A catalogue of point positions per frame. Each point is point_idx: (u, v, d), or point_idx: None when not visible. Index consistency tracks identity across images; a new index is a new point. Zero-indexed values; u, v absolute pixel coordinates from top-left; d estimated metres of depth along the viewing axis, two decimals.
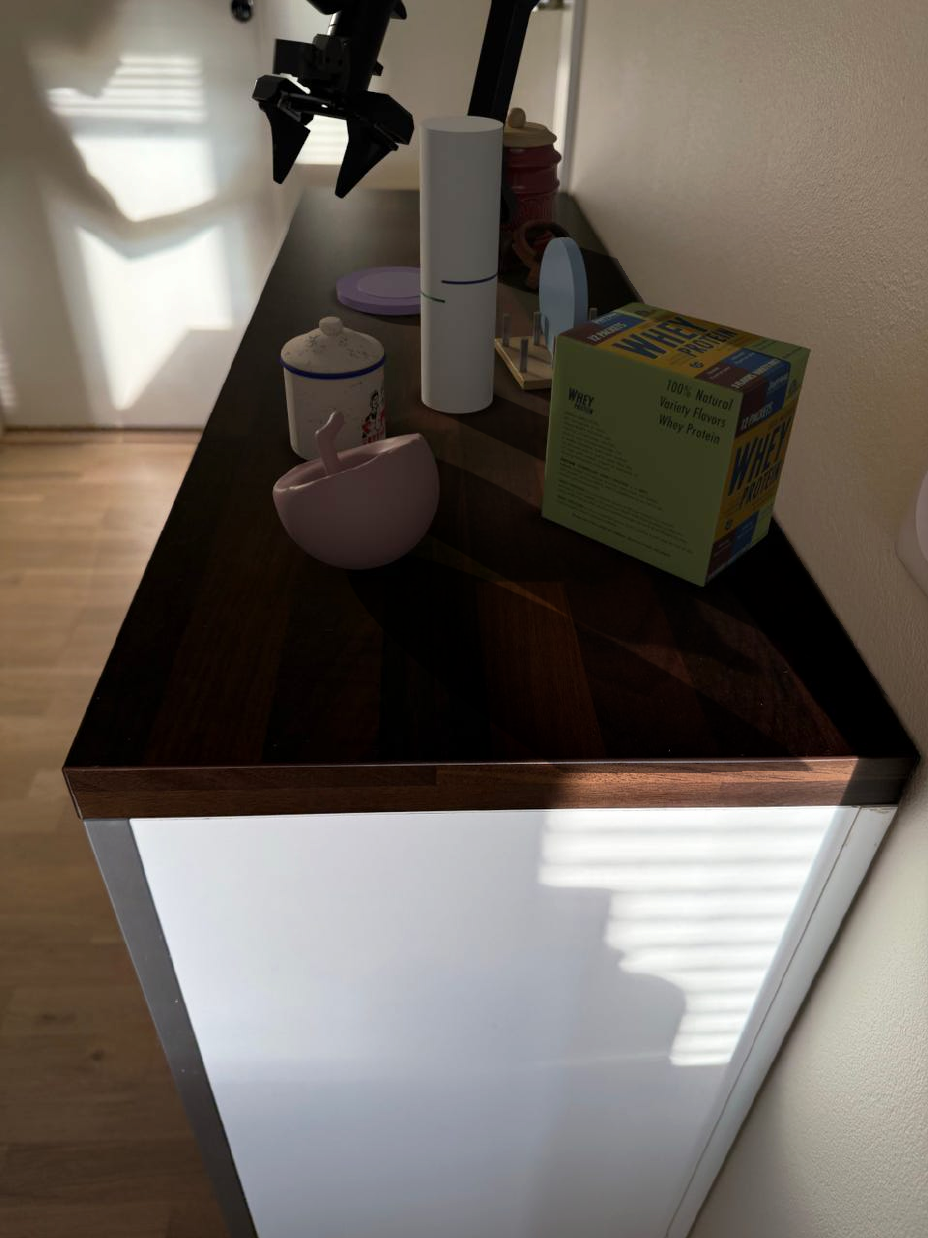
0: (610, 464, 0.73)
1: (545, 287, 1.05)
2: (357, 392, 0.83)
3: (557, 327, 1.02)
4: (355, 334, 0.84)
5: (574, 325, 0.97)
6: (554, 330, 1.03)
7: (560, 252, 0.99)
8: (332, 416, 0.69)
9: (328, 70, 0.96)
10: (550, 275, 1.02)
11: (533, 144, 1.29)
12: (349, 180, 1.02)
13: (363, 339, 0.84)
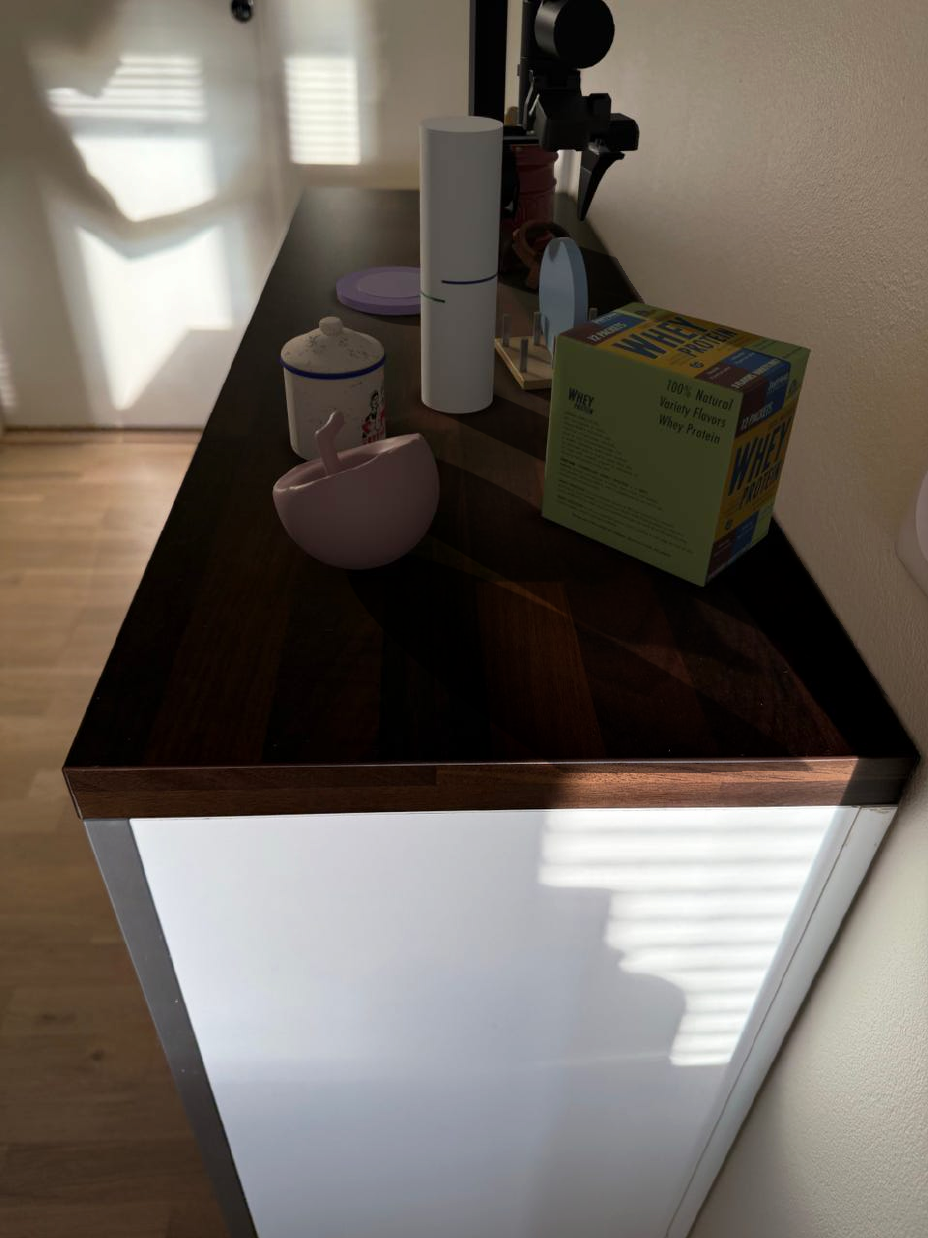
0: (610, 464, 0.73)
1: (545, 287, 1.05)
2: (357, 392, 0.83)
3: (557, 327, 1.02)
4: (355, 334, 0.84)
5: (574, 325, 0.97)
6: (554, 330, 1.03)
7: (560, 252, 0.99)
8: (332, 416, 0.69)
9: None
10: (550, 275, 1.02)
11: None
12: None
13: (363, 339, 0.84)
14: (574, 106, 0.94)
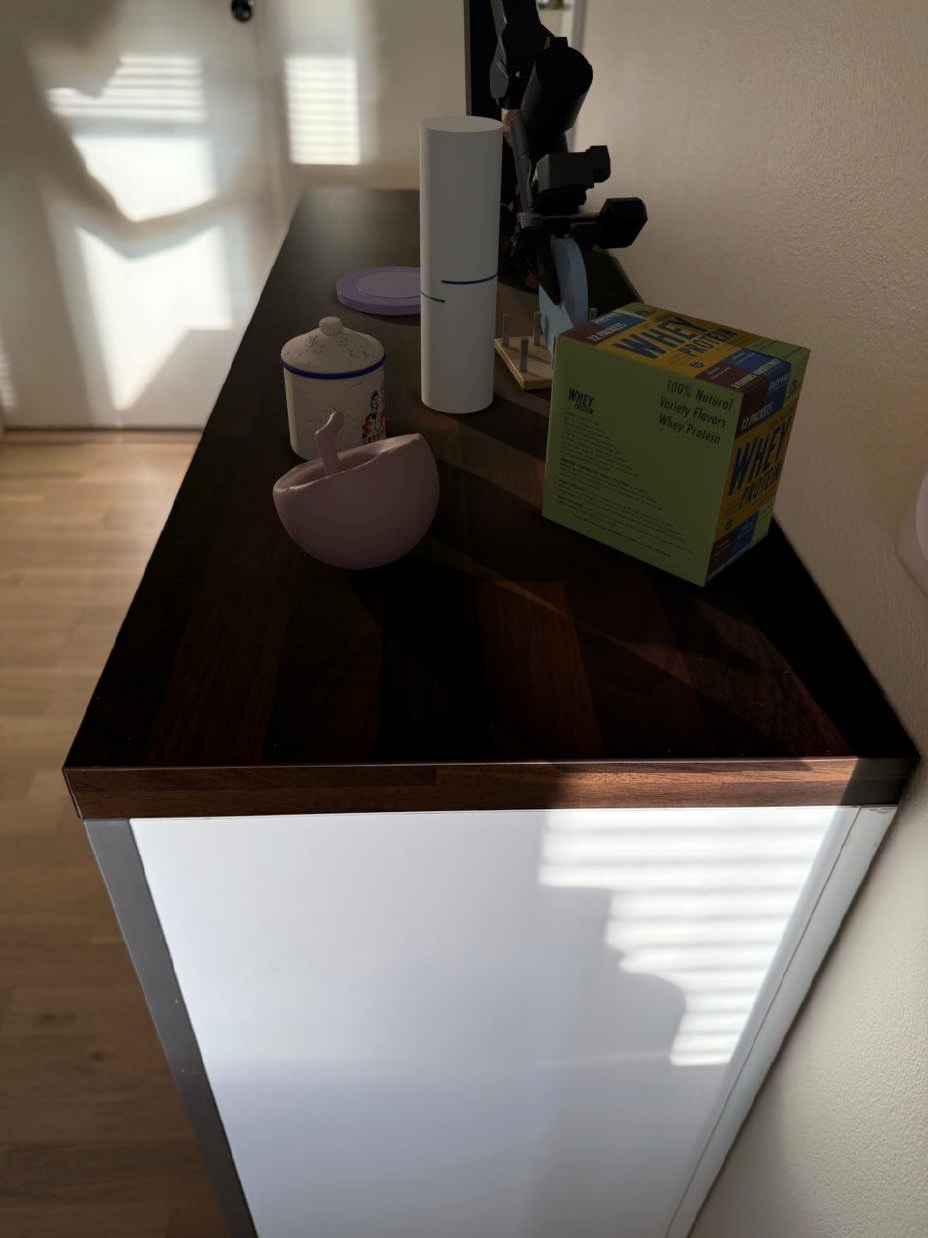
0: (610, 464, 0.73)
1: None
2: (357, 392, 0.83)
3: (557, 327, 1.02)
4: (355, 334, 0.84)
5: (574, 325, 0.97)
6: (554, 330, 1.03)
7: (560, 252, 0.99)
8: (332, 416, 0.69)
9: (608, 177, 0.97)
10: None
11: None
12: None
13: (363, 339, 0.84)
14: None
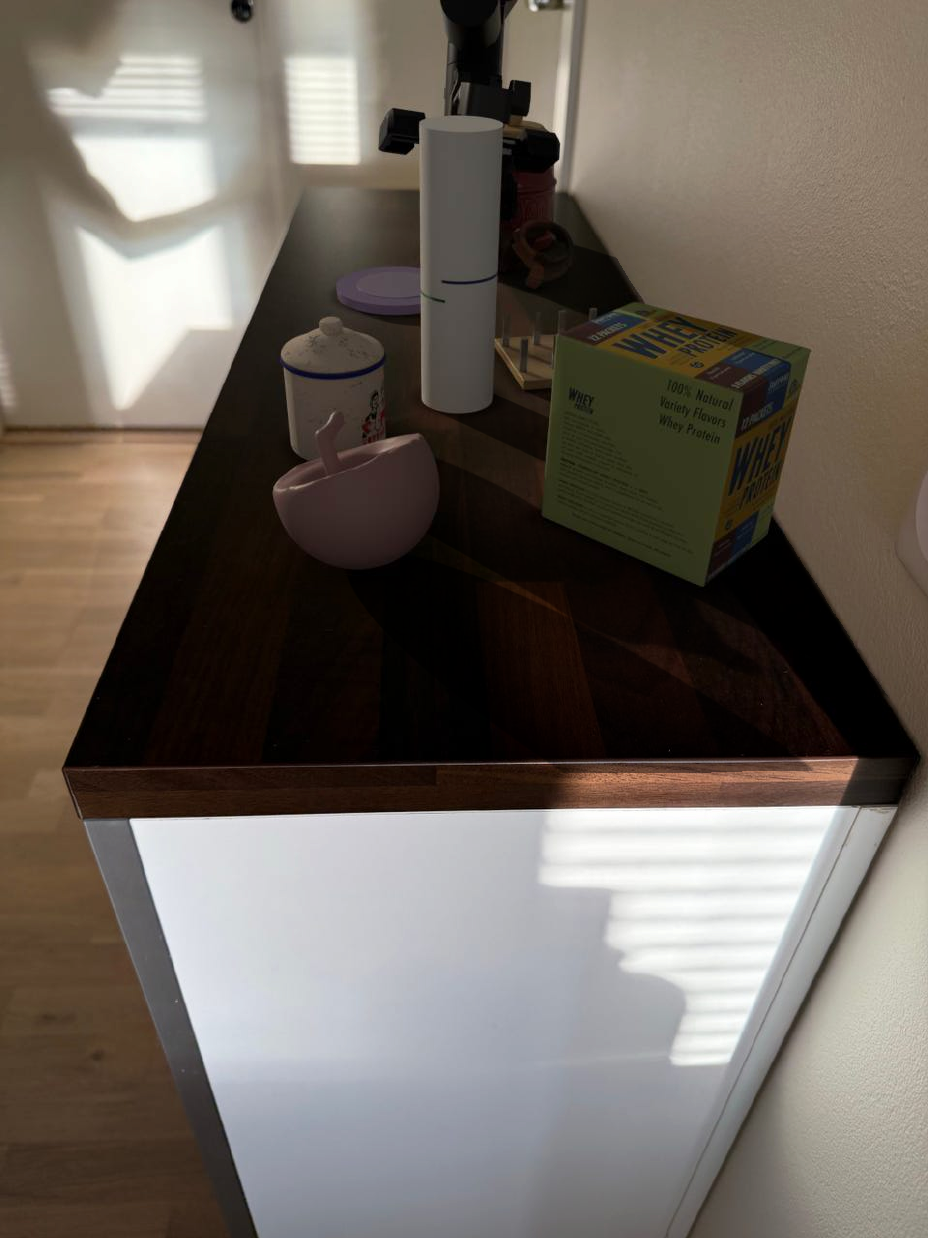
0: (610, 464, 0.73)
1: None
2: (357, 392, 0.83)
3: None
4: (355, 334, 0.84)
5: None
6: None
7: None
8: (332, 416, 0.69)
9: (526, 115, 0.99)
10: None
11: None
12: None
13: (363, 339, 0.84)
14: None
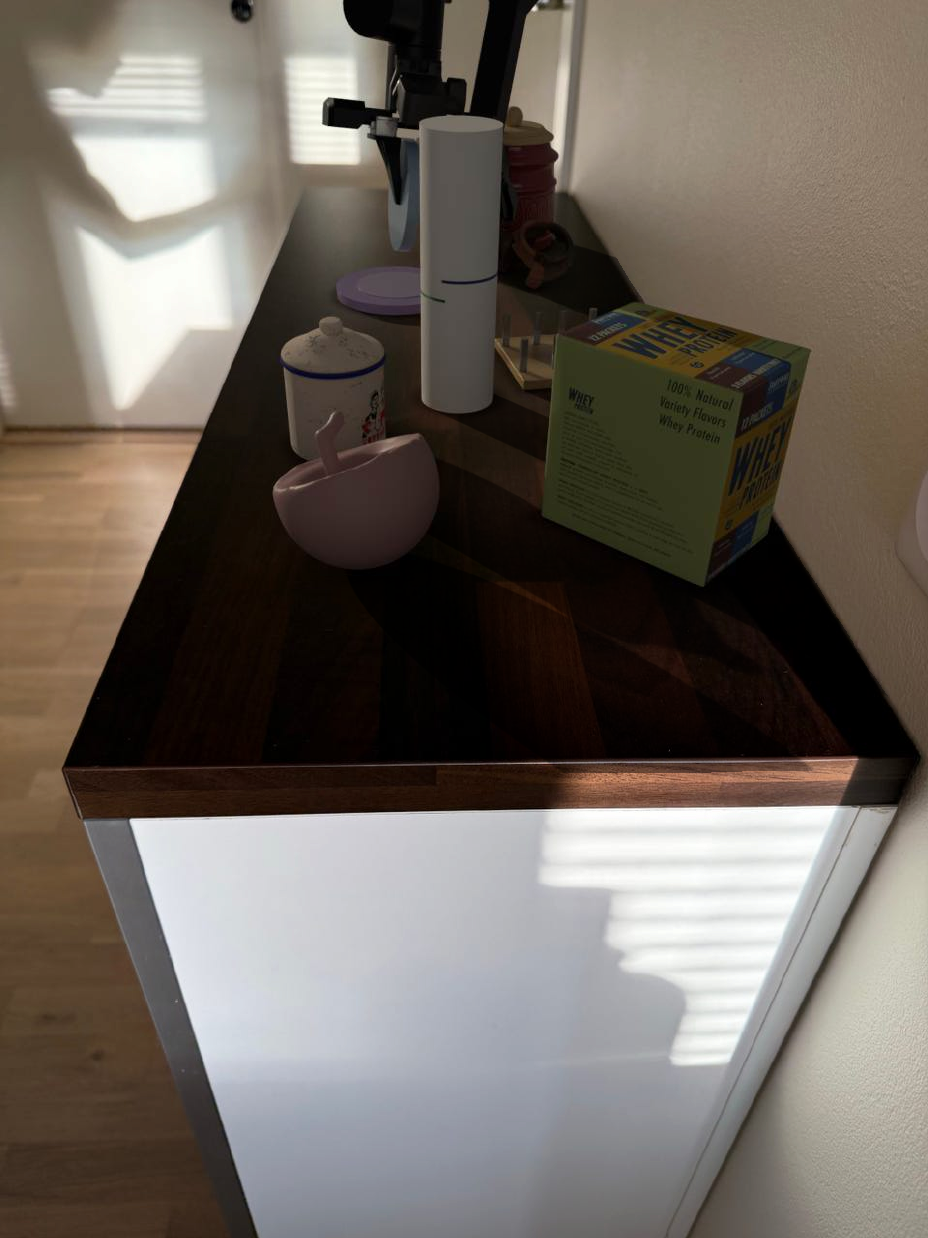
0: (610, 464, 0.73)
1: None
2: (357, 392, 0.83)
3: (394, 218, 1.14)
4: (355, 334, 0.84)
5: (402, 242, 1.11)
6: (393, 216, 1.15)
7: (405, 165, 1.07)
8: (332, 416, 0.69)
9: None
10: None
11: (528, 143, 1.29)
12: None
13: (363, 339, 0.84)
14: (432, 87, 1.01)
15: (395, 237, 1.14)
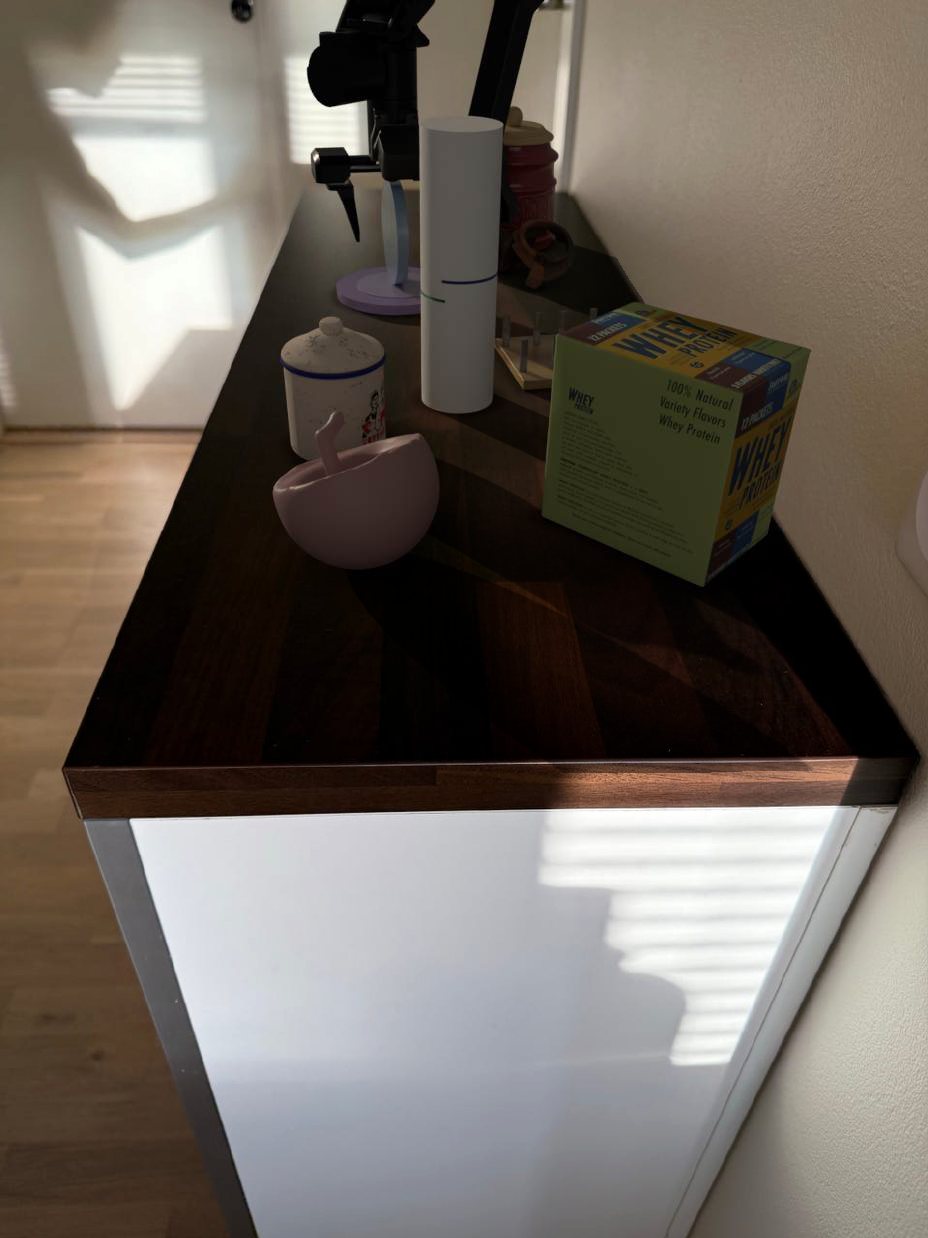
0: (610, 464, 0.73)
1: (385, 202, 1.19)
2: (357, 392, 0.83)
3: (388, 251, 1.22)
4: (355, 334, 0.84)
5: (396, 281, 1.19)
6: (387, 248, 1.22)
7: (393, 213, 1.14)
8: (332, 416, 0.69)
9: None
10: (388, 206, 1.18)
11: (528, 143, 1.29)
12: None
13: (363, 339, 0.84)
14: (410, 141, 1.07)
15: (390, 270, 1.22)
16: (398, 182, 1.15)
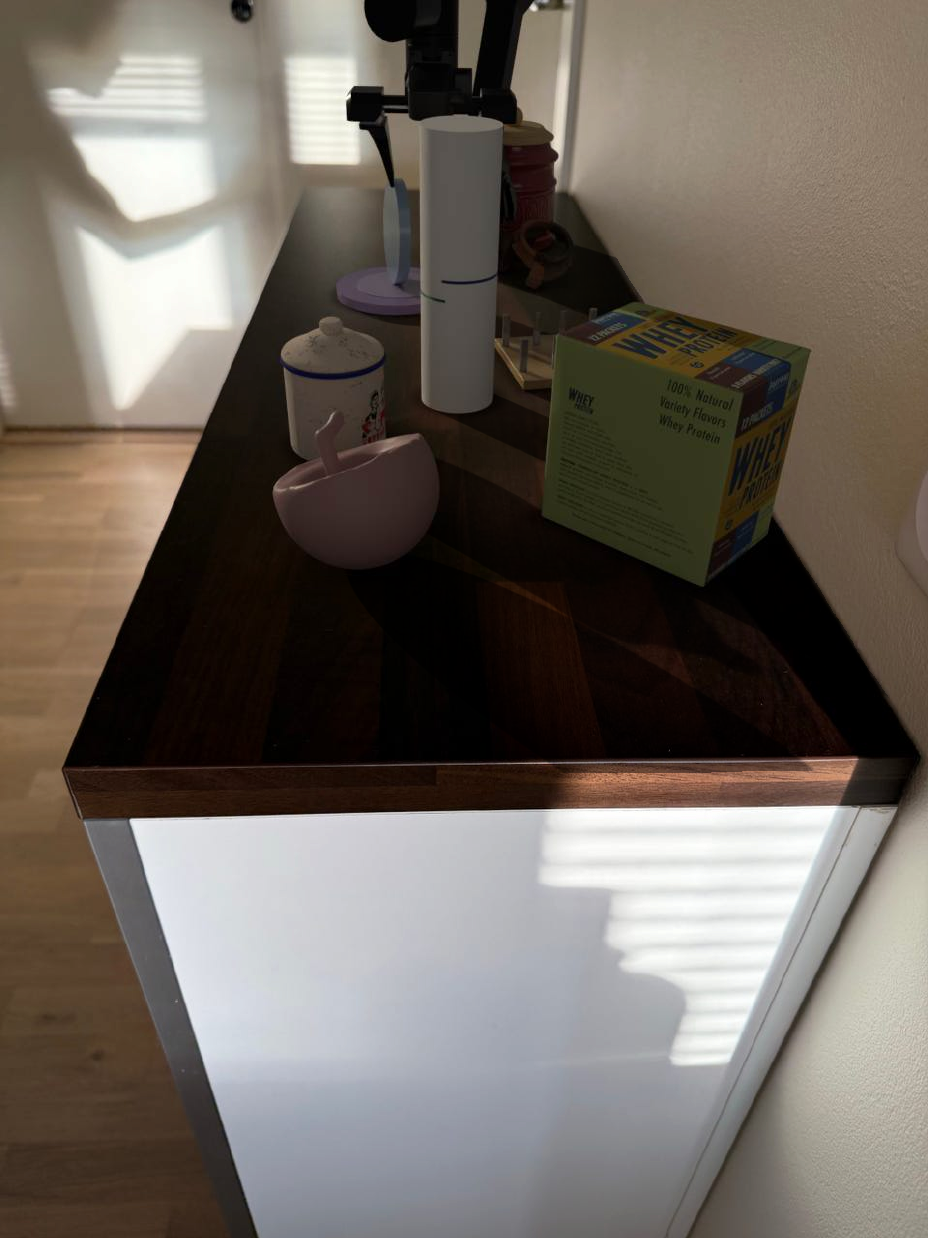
0: (610, 464, 0.73)
1: (387, 201, 1.20)
2: (357, 392, 0.83)
3: (389, 251, 1.22)
4: (355, 334, 0.84)
5: (396, 280, 1.19)
6: (388, 247, 1.22)
7: (396, 212, 1.15)
8: (332, 416, 0.69)
9: None
10: (390, 206, 1.18)
11: (528, 143, 1.29)
12: None
13: (363, 339, 0.84)
14: (439, 79, 1.02)
15: (390, 269, 1.22)
16: (401, 181, 1.15)
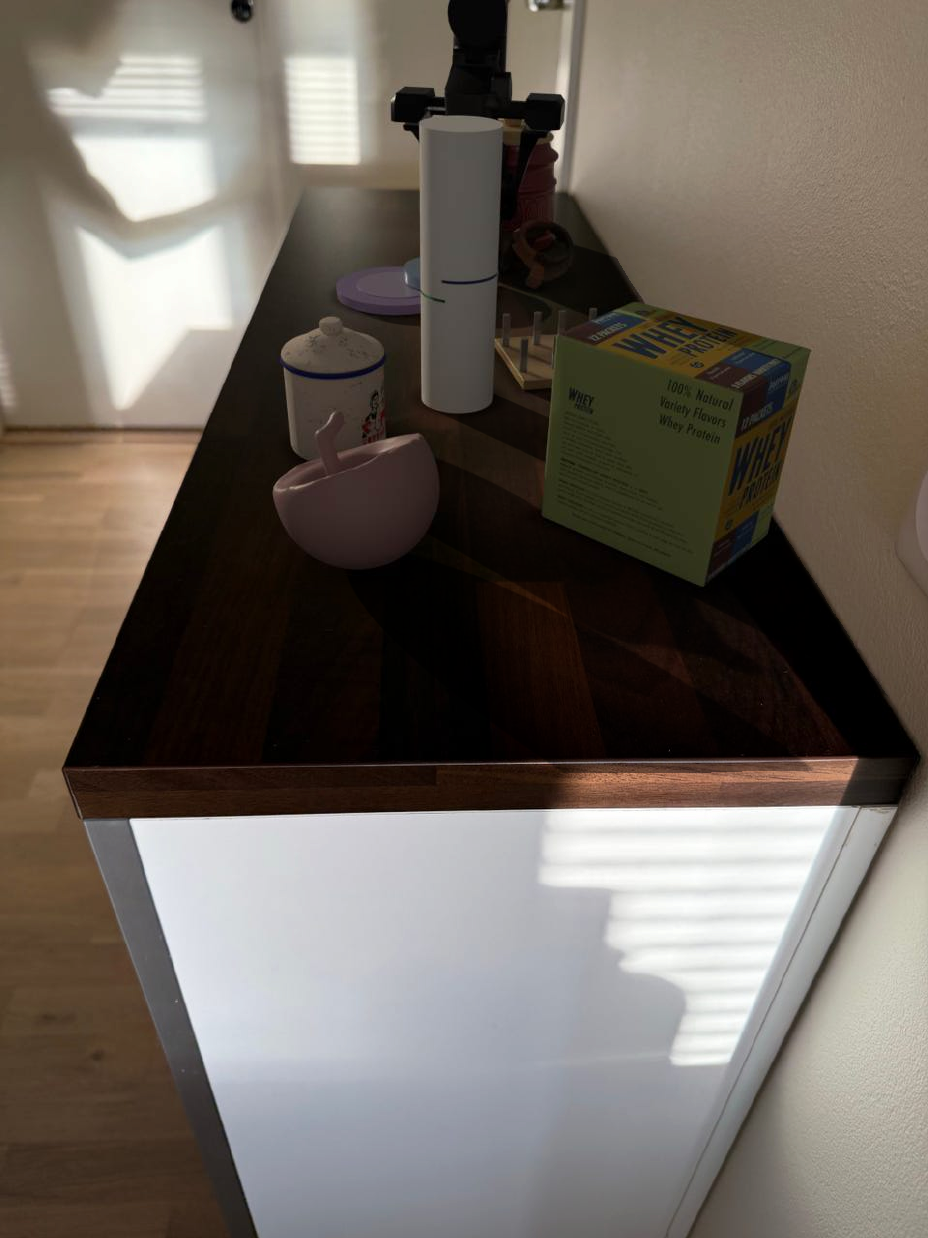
0: (610, 464, 0.73)
1: None
2: (357, 392, 0.83)
3: None
4: (355, 334, 0.84)
5: (417, 278, 1.20)
6: None
7: None
8: (332, 416, 0.69)
9: (509, 107, 1.02)
10: None
11: None
12: (523, 176, 1.11)
13: (363, 339, 0.84)
14: (478, 82, 1.01)
15: (415, 268, 1.23)
16: None
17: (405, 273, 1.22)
